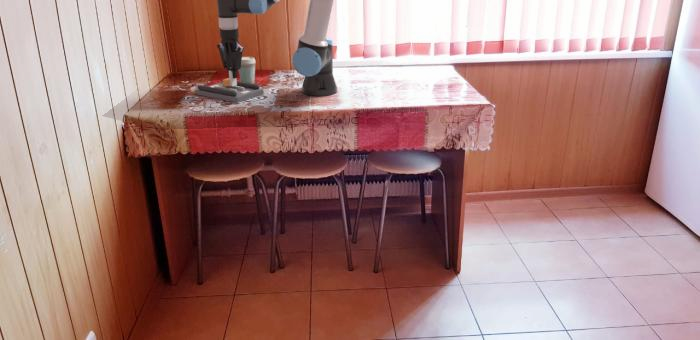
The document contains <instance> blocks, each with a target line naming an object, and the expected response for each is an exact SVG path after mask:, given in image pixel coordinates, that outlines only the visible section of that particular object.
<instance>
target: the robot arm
mask: <svg viewBox="0 0 700 340" xmlns="http://www.w3.org/2000/svg"><path fill="white" fill-rule="evenodd" d="M280 1H281V0H216V7H217V16H218V27H219V37H220V39H221V41H220V43H219V44H218V43H217V44H216V48H217V49H218V51H219V56H220V59H221V63H222V67H223V69H226V71H227V76H228V78H229V81H230V86H236V85H237V81H238V80H237V78H238V71H239V70H238V69H240V68H241V60H242V57H243V52H244V49H245V47H244V46H241V45H240V42H239V37H240V36H239V35H240V33H239V28H238V27H239V21H238V19H239V18H238V14H248V15H249V14H250V15H251V14H253V15H263V14H265V13H266V11H267V10H270V9H271V8H272V7H273V6H274V5H275V4H278V2H280ZM333 4H334V0H310V1H309V5H308V11H307V16H306V22H305V26H304V27H305V28H304V32H303V35H300V36H299V38H298V42H297V47H296V48H297V49H296V50H295V52H293V55H292V59H291V61H292V62H291V63H292V66H293V68H294V69H295V71H296V72H297V74H299V75H301V76H304V79H303V81H302V86H301V92H302V94H304V95H307V96H317V97H318V96H319V97H321V96H323V97H324V96H331V95H334V94H336V93H337V92H338V91H337V90H338V89H337V88H338V87H337V84H336V81H335V77H334V71H333V69H334V67H333V65H334V64H333V56H334V55H333V48H334V46H333V40H332V39H331V38H327V33H328V29H329V23H330V19H331V14H332V9H333Z"/></svg>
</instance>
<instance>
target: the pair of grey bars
mask: <svg viewBox="0 0 700 340" xmlns="http://www.w3.org/2000/svg"><path fill="white" fill-rule="evenodd" d="M224 79H225V78H222V79H221V81H220V83H221V82H222V83H223V81H222V80H224ZM208 86H209V85H201V84H198V85H197V89H199V90H203V91H209V92H214V93H219V94H225V95H230V96H236V95H237V92H235V91H230V90H224V89H219V88H213V87H208ZM236 86H242V87H248V88H253V89H261V88H260V84H257V83H254V84H252V83H246V82H241V80H240V81H239V80H237V85H236Z"/></svg>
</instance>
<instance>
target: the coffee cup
mask: <svg viewBox="0 0 700 340" xmlns="http://www.w3.org/2000/svg"><path fill="white" fill-rule="evenodd" d="M256 63H257V62H256V59H255V57H253V56H242V60H241V68H240V69H238V70H237V71H238V73H239V79H240V82H246V83H252V84H255V81H256V80H255V76H256Z"/></svg>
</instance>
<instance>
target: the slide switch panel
mask: <svg viewBox="0 0 700 340" xmlns="http://www.w3.org/2000/svg"><path fill="white" fill-rule="evenodd" d="M207 86H208V87H213V88H219V89H224V90H230V91H235V92H237V95H236V96H230V95H225V94H219V93H214V92H209V91H203V90H199V89H198V88H197V89H195V95H198V96H203V97H208V98H213V99H218V100H223V101H228V102H234V103H240V102H241V103H242V102H243V101H246V100H250V99H252V98H253V99H254V98H256V97H258V96H261V95H264V88H259V89H253V88H248V87H242V86H234V89H231V88H226V86H223V83H222V82H221V81H220V82H218V83H215V84H214V83H213V84H211V85H207Z"/></svg>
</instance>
